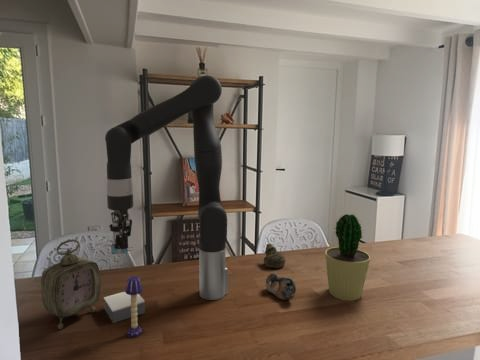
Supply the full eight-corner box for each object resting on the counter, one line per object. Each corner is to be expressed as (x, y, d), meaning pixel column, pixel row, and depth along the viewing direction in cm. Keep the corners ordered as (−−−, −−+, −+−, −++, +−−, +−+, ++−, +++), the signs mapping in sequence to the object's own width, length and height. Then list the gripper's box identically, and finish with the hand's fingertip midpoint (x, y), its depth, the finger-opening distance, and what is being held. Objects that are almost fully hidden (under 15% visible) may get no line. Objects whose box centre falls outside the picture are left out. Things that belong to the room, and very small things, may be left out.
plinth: (134, 299, 113) (134, 288, 113) (145, 312, 105) (144, 301, 105) (104, 308, 107) (103, 297, 107) (113, 323, 99) (112, 310, 99)
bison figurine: (266, 287, 124) (258, 298, 114) (267, 269, 123) (259, 279, 114) (298, 293, 120) (292, 306, 110) (299, 275, 119) (294, 285, 110)
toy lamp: (129, 328, 97) (127, 274, 94) (145, 327, 97) (143, 274, 95) (125, 338, 92) (122, 282, 90) (142, 337, 92) (140, 281, 90)
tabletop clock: (57, 334, 94) (51, 250, 90) (40, 324, 98) (33, 243, 95) (102, 311, 106) (98, 236, 102) (85, 303, 111) (80, 231, 107)
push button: (133, 249, 107) (132, 219, 105) (132, 254, 101) (131, 223, 100) (111, 250, 105) (110, 220, 104) (109, 256, 100) (108, 224, 98)
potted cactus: (369, 288, 124) (374, 210, 119) (365, 307, 110) (372, 220, 105) (327, 280, 130) (331, 206, 126) (319, 297, 116) (323, 214, 112)
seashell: (282, 245, 151) (260, 246, 150) (288, 239, 141) (265, 239, 139) (284, 270, 147) (262, 271, 145) (291, 266, 136) (267, 266, 135)
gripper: (140, 195, 97) (142, 251, 100) (125, 188, 109) (127, 238, 111) (114, 198, 93) (116, 256, 95) (101, 190, 104) (103, 242, 107)
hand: (122, 246), depth 103 cm, fingers closed on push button, 3 cm apart
